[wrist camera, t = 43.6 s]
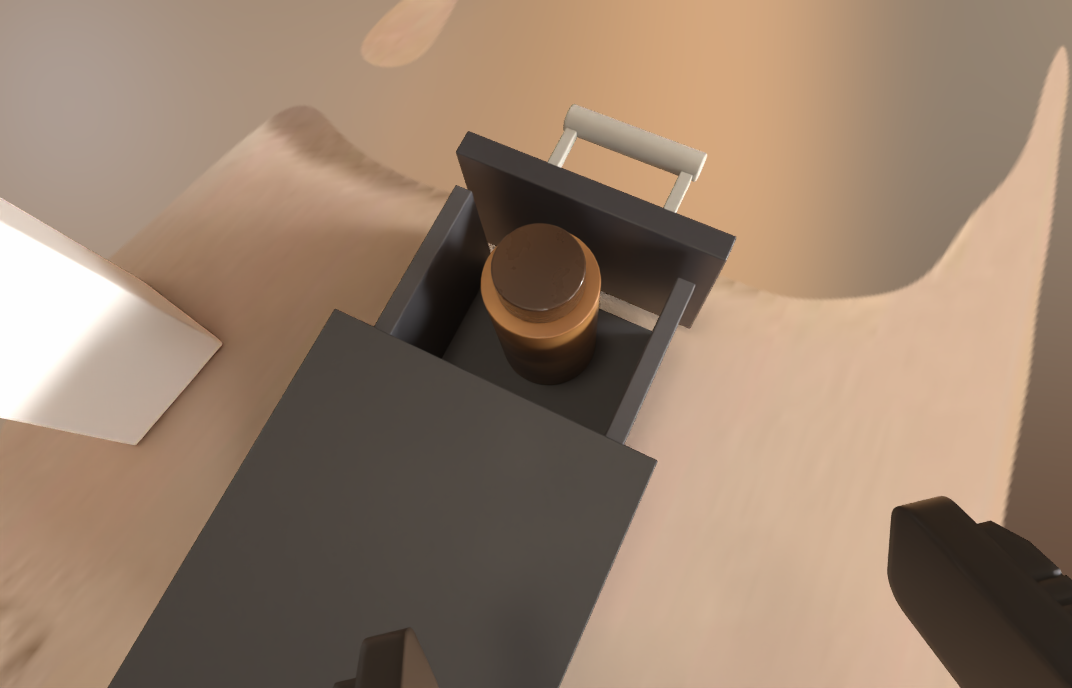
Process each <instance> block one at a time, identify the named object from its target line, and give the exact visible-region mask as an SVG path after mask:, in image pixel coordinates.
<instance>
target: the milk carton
mask: <svg viewBox="0 0 1072 688" xmlns="http://www.w3.org/2000/svg"><path fill="white" fill-rule="evenodd" d="M221 345H222V342H221V341H220V340H219V339H218V338H217V337H215V336H214V335H213V334H211V333H210V332H209V331H208V330H206V329H205V328H204V327H202V326H201V325H200V324H198V323H197V322H196V321H194V320H193V319H192V318H191V317H189V316H188V315H187V314H185V313H184V312H183V311H181V310H180V309H179V308H177V307H176V306H175V305H174V304H172V303H171V302H170V301H168V300H167V299H166V298H164V297H163V296H162V295H160V294H159V293H158V292H156V291H155V290H154V289H153V288H151V287H150V286H149V285H147V284H146V283H145V282H143V281H142V280H140V279H139V278H137V277H135V276H133V275H132V274H130V273H128V272H127V271H125V270H123V269H122V268H120V267H118V266H116V265H115V264H113V263H111V262H110V261H108V260H106V259H105V258H103V257H101V256H99V255H98V254H96V253H94V252H92V251H91V250H89V249H88V248H86V247H84V246H82V245H81V244H79V243H77V242H76V241H74V240H72V239H71V238H69V237H67V236H65V235H64V234H62V233H60V232H59V231H57V230H55V229H54V228H52V227H50V226H48V225H46V224H45V223H43V222H42V221H40V220H38V219H37V218H35V217H33V216H31V215H30V214H28V213H26V212H24V211H23V210H21V209H19V208H18V207H16V206H14V205H13V204H11V203H9V202H8V201H6V200H4V199H2V198H1V197H0V418H4V419H8V420H13V421H18V422H23V423H28V424H33V425H38V426H42V427H47V428H52V429H57V430H62V431H67V432H72V433H76V434H81V435H86V436H91V437H96V438H101V439H106V440H110V441H115V442H120V443H125V444H130V445H136V444H137V443H138V442H139V441H140V440H141V439H142V438H143V437H144V435H145V434H146V433H147V432H148V431H149V430H150V428H151V427H152V426H153V425H154V424H155V423H156V421H157V420H158V419H159V418H160V417H161V416H162V414H163V413H164V412H165V411H166V410H167V409H168V407H169V406H170V405H171V404H172V403H173V402H174V400H175V399H176V398H177V397H178V396H179V395H180V393H181V392H182V391H183V390H184V389H185V388H186V386H187V385H188V384H189V383H190V382H191V381H192V379H193V378H194V377H195V376H196V375H197V374H198V372H199V371H200V370H201V369H202V368H203V367H204V365H205V364H206V363H207V362H208V361H209V359H210V358H211V357H212V356H213V355H214V354H215V352H216V351H217V350H218V349H219V348H220V347H221Z"/></svg>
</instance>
